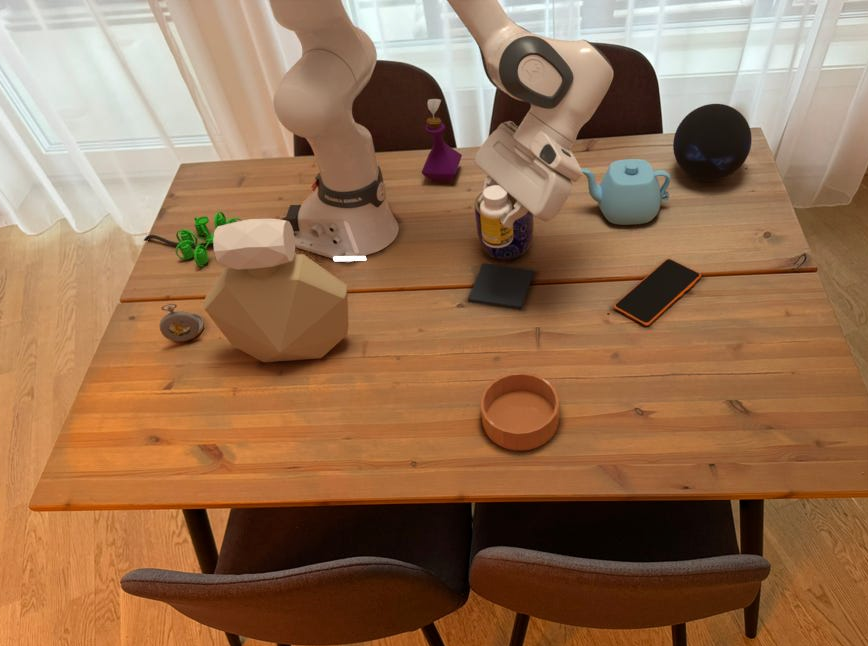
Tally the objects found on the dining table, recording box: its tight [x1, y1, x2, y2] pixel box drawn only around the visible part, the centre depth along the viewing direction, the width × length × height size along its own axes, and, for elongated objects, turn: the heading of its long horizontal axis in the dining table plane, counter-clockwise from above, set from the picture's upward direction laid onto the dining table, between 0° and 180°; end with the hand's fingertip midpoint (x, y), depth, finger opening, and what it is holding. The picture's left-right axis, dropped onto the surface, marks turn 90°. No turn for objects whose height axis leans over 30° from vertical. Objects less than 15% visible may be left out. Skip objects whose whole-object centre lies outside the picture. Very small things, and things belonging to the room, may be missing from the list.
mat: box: [467, 263, 535, 310], centre depth 139 cm, size 10×10×1 cm
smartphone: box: [613, 258, 702, 327], centre depth 134 cm, size 8×17×1 cm, turn 135°
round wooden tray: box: [480, 371, 560, 452], centre depth 117 cm, size 12×12×4 cm
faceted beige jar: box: [202, 218, 349, 363], centre depth 123 cm, size 12×24×28 cm, turn 91°
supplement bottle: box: [480, 185, 513, 248], centre depth 125 cm, size 5×5×10 cm
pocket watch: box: [159, 303, 205, 342], centre depth 135 cm, size 7×8×10 cm
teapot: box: [580, 158, 671, 226], centre depth 147 cm, size 13×11×18 cm
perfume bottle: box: [421, 98, 463, 183], centre depth 158 cm, size 8×8×18 cm
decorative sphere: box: [672, 103, 753, 182], centre depth 151 cm, size 15×15×15 cm
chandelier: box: [175, 211, 243, 267], centre depth 153 cm, size 15×15×7 cm
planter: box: [474, 185, 535, 261], centre depth 142 cm, size 11×11×11 cm
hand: (493, 215), depth 125 cm, fingers closed on supplement bottle, 5 cm apart
